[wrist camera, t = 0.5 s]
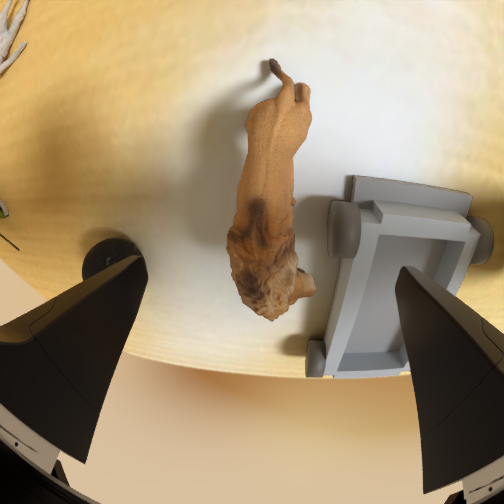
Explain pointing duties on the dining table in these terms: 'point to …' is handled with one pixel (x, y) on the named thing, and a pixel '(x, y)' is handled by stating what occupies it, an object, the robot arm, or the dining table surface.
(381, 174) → the dining table surface
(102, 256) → the billiard ball
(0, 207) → the toy tank
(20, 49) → the grey irregular piece
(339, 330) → the chassis
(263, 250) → the lion figurine
